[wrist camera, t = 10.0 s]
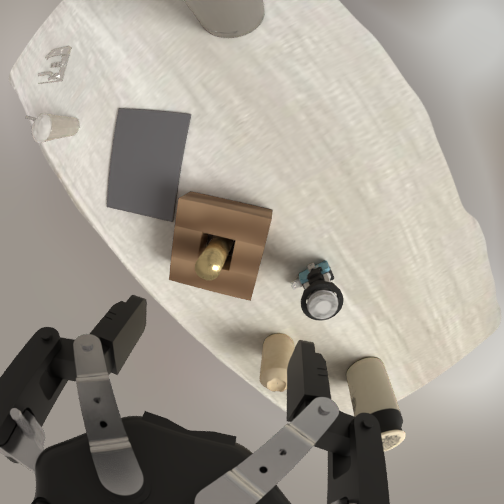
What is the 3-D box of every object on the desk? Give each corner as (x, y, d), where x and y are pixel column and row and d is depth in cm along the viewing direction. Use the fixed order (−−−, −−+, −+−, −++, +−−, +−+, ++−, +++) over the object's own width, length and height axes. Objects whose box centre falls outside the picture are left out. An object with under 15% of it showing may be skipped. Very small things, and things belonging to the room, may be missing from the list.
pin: (215, 228, 40) (196, 254, 31) (235, 232, 40) (222, 260, 31) (212, 246, 42) (193, 276, 32) (231, 251, 42) (217, 283, 32)
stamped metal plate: (74, 47, 30) (69, 45, 29) (64, 81, 33) (59, 80, 32) (48, 52, 30) (43, 51, 29) (39, 84, 33) (34, 84, 32)
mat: (120, 108, 35) (118, 108, 34) (191, 114, 34) (190, 114, 34) (108, 206, 41) (106, 206, 40) (173, 221, 41) (172, 221, 40)
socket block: (190, 191, 39) (178, 198, 34) (272, 209, 39) (271, 219, 34) (180, 265, 43) (169, 279, 39) (253, 283, 43) (250, 300, 39)
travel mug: (388, 355, 47) (415, 427, 30) (377, 382, 50) (396, 450, 33) (351, 356, 47) (369, 434, 31) (342, 383, 50) (354, 457, 34)
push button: (298, 295, 43) (302, 334, 34) (283, 268, 42) (283, 304, 33) (337, 277, 42) (350, 313, 32) (323, 249, 40) (335, 280, 31)
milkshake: (72, 106, 34) (32, 104, 25) (86, 124, 36) (45, 125, 26) (59, 125, 36) (19, 128, 27) (72, 144, 37) (31, 150, 28)
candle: (284, 328, 46) (284, 369, 37) (299, 348, 47) (301, 390, 38) (257, 340, 47) (252, 381, 38) (272, 359, 49) (270, 400, 40)
